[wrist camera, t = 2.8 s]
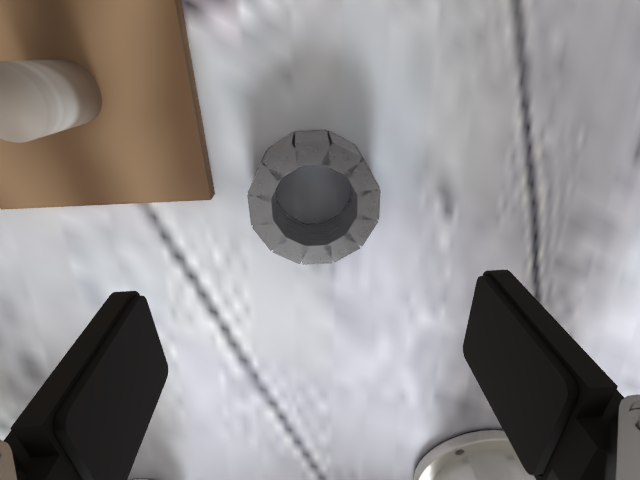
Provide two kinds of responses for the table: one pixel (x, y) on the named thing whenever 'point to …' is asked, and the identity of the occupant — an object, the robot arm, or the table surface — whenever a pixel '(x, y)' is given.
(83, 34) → the brown base with peg
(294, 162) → the ring
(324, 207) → the table surface
